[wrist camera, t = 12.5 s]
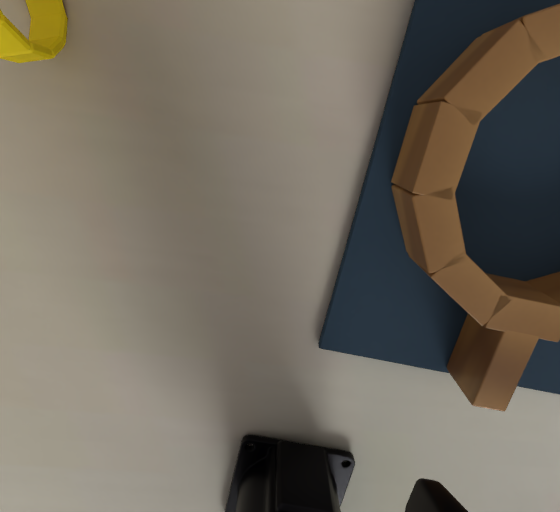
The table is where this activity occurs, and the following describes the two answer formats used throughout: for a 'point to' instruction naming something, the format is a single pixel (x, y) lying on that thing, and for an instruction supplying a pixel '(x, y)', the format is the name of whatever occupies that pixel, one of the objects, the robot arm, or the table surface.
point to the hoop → (445, 218)
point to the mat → (469, 196)
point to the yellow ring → (35, 33)
